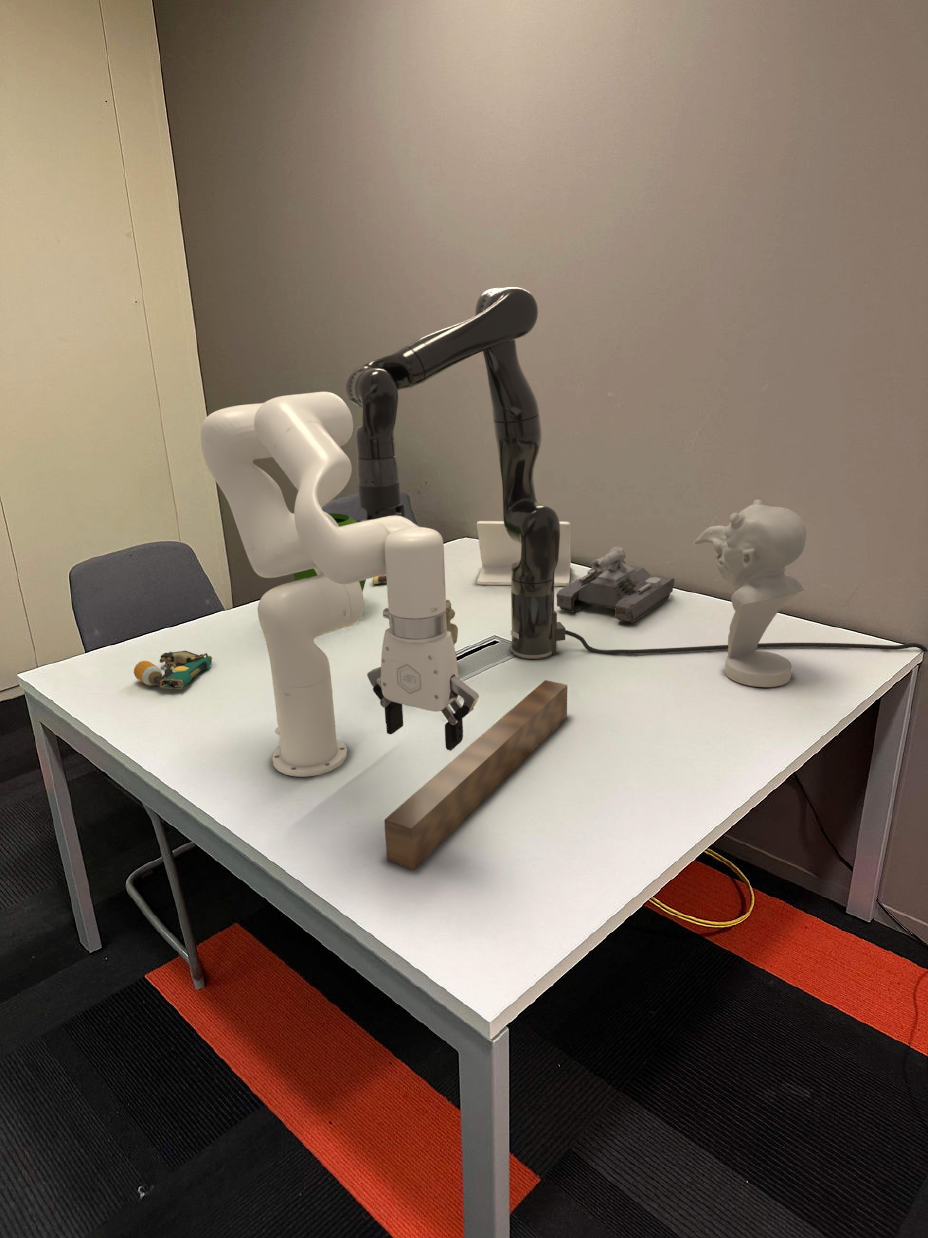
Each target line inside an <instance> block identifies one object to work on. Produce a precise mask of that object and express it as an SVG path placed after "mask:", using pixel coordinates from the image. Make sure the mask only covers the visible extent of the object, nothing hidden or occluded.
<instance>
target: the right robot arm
mask: <svg viewBox="0 0 928 1238" xmlns="http://www.w3.org/2000/svg"><path fill="white" fill-rule="evenodd" d="M474 311H475V312H474V316H473V317H471V318H469V319H467V320H464V321H462V322H459V323H457V324H454V325H452V326H448V327H445V328H443V329H440V330H437V331H434V332H431V333H429V334H428V335H423V336H422V337H419V338H418V339H416V340H414V341H413V342H411V343H409V344H407V345H406V346H404V347H402V348H399V350H397V351H395V352H393V353H391V354H388V355H385V356H382V357H379V358H377V359H374V360H372V361H368V362H366V363H364V364H362V365H360V366H358V367H356V368H355V369H354V370H352V371H351V372H350V373H349V375H348V376H347V378H346V381H345V384H344V392H345V395H346V397H347V399H348V400H349V401H350V402H351V403H352V404H353V405H354V406H357V407H359V408H362V417H361V418H362V419H361V424H359V425H358V426H357V427H356V429H355V450H356V475H357V476H356V477H357V487H358V489H357V490H358V500H359V506H360V508H362V509H364V510H365V512H366V515H365V519H357V520H356V521H357V523H358V522H363V521H367V520H373V519H378V518H382V517H387V516H402V517H404V518H406V515H405V506H404V504H402V503H401V491H400V475H399V474H400V473H399V465H398V460H397V451H396V440H395V428H396V423H397V414H398V409H399V391H401V390H405V389H412V388H415V387H419V386H420V385H422V384H424V383H425V382H427V381H429V380H431V379H433V378H434V377H436V376H438V375H439V374H441V373H443V372H445V371H447V370H449V369H451V368H452V367H454V366H456V365H458V364H460V363H461V362H463V361H465V360H467V359H469V358H471V357H473V356H475V355H478V354H480V353H482V355H483V359H484V364H485V368H486V376H487V382H488V390H489V396H490V403H491V409H492V420H493V428H494V435H495V440H496V445H497V453H498V461H499V470H500V476H501V477H500V478H501V485H502V489H501V490H502V517H503V518H502V519H503V521H504V527H505V530H506V532H507V534H508V536H509V537H510V538H511V539H512V540H514V541H516V542H518V543H520V544H521V560H518V561H516V562H514V563H513V564H512V566H511V585H510V588H511V589H510V597H511V599H510V603H511V604H510V606H511V607H510V609H511V610H510V615H511V617H510V618H511V621H510V622H511V630H510V635H511V643H510V644H511V647H510V651H511V653H512V655H513V656H515V657H518V658H521V659H525V660H526V659H527V660H540V659H545V658H548V657H550V656H552V655H557V654H558V653H557V650H558V649H557V648H558V647H557V645H558V644H557V643H558V642H561V641H563V642H564V641H566V636H569V637H571V638H574V639H576V640H578V641H579V642H580V643H581V644H582V646H583V647H584V649H586V650H587V651H588V652H590V653H592V654H593V653H594V654H600V655H601V654H602V655H641V654H642V655H643V654H664V653H665V654H667V653H684V652H686V653H687V652H702V651H721V650H728V644H719V645H702V646H701V645H700V646H684V647H683V646H682V647H663V648H642V649H641V648H640V649H598V648H594V647H593V646H590V645H589V644H588V643H587V641H586V639H585V638H584V637H583V636H582V635H580V634H578V633H576V632H573V631H571V630H567V629H566V627H565V626H564V625H563V623H562V622H561V621H558V613H557V612H556V611H555V586H554V572H555V569H556V566H557V563H558V558H559V543H560V523H559V522H560V519H559V516H558V514H557V512H556V511H555V510H554V509H553V508H552V507H550V506H548V505H545V504H542V503H539V502H538V500H537V496H536V491H535V482H534V472H535V471H534V470H535V465H536V462H537V459H538V455H539V453H540V448H541V444H542V425H541V417H540V416H541V415H540V409H539V404H538V400H537V398H536V396H535V393H534V392H533V389H532V387H531V385H530V383H529V381H528V379H527V377H526V375H525V373H524V372H523V369H522V366H521V364H520V360H519V357H518V356H519V355H518V352H517V342H516V340H517V339H521V338H523V337H525V336H526V335H528V334H529V333H530V332H531V331H532V330H533V328H534V327H535V325H536V324H537V321H538V317H539V316H538V315H539V306H538V303H537V301H536V298H535V297H534V295H533V294H531V292H529V291H528V290H526V289H524V288H521V287H514V286H507V287H495V288H490V289H487V290H485V291H484V292H482V293H481V294H480V296H479V298H478V300H477V301H476V305H475V310H474ZM763 648H765V649H766V648H838V649H839V648H841V649H843V648H844V649H867V650H887V651H888V650H889V651H891V650H892V651H897V650H898V651H899V650H904V649H905V650H907V649H911V648H915V649H919V650H921V652H924V653H925V652H928V648H927V647H926V646H924V645H923V644H921V643H918V642H909V643H904V644H896V645H895V644H893V645H892V644H871V643H848V642H847V643H846V642H844V643H843V642H764V643H762V642H761V643H760V642H759V643H758V646H757V648H756V649H763Z"/></svg>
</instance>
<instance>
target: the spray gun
mask: <svg viewBox="0 0 928 1238" xmlns="http://www.w3.org/2000/svg"><path fill="white" fill-rule="evenodd" d="M212 660H213V657H212V656H211V655H208V653H207V652H205V653H201V654H197V653H194V652H192V651H191V652H190V651H188V650H180V651H169V652H164V653H162V654H161V655H160V658H159V660H158V662H159V663H161V664H163V663H165V664H166V668H165V670H163V672H164V674H163V673H162V669H160V668H159V666H157V665H156V664H154V663H152V662H151V661H149V660H141V661H139V662H138V663H136V665H135V666H134V668H133V675H134V677H135V678H136V679H137V680H139V681H140V682H142V683H143V684H145V685H147V686H155V685H157V686H158V687H160V688H161V689H171V690H172V689H173V690H182V689H184V687H185V686H186V685H188V684H189V683H190V682H191V681H192V679H193V678H195V677H196V676H197V675H198V674H200V673H201V672H202V671H203V670H206V669H208V668H209V667H210V666H211V665H212V662H213V661H212ZM178 663H179V664H181V665H179V666H176V665H177V664H178Z"/></svg>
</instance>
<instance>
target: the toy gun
mask: <svg viewBox="0 0 928 1238" xmlns="http://www.w3.org/2000/svg"><path fill="white" fill-rule="evenodd" d="M372 583H373V585H377V584H381V583H382V584H383V583H387V577H386V574H385V575H380V576H376V577H372Z"/></svg>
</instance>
